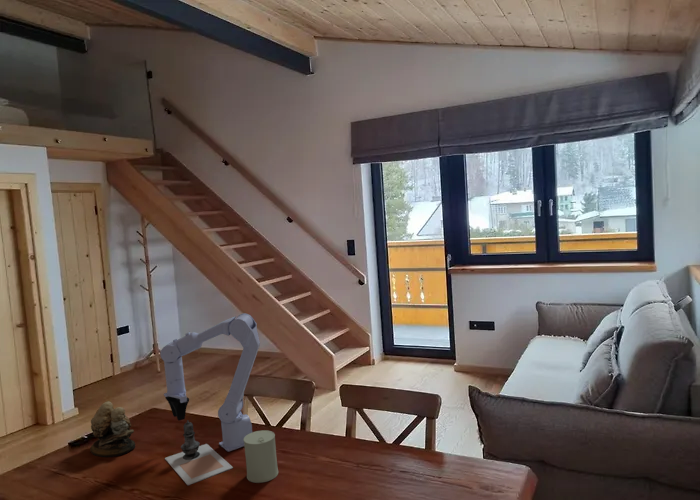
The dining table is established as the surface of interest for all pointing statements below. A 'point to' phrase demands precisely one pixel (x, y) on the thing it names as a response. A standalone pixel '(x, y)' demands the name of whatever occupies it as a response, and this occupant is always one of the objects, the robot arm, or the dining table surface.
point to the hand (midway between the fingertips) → (179, 417)
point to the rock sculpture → (111, 431)
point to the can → (260, 456)
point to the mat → (198, 465)
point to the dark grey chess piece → (190, 442)
